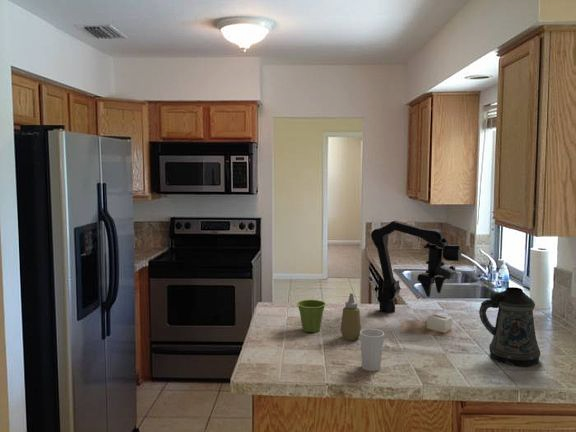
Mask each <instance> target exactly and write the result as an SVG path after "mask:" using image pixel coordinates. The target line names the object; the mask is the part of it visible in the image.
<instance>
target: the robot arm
mask: <svg viewBox="0 0 576 432" xmlns="http://www.w3.org/2000/svg"><path fill="white" fill-rule="evenodd" d="M395 231H397V232H400V233H403V234H407V235H411V236H414V237H418V238H420V239H422V240H424V241H425V242H427V243H426V244H425V245H424V246H423V249H427V250H428V254H427V257H428V258H427V260H426V261H425V264H427V270H425V272H422V273H420V274H418V275H417V281H418V283H420V285H421V287H422V289H423V290H424V292H425V295H426V298H427V297H428V298H429V297H431V291H432V286H433V285H434V284H435V287H436V288H435V289H436V292H437V293H438V294H441V291H442V289H443V285H444V283H445V281H446V280H450V279H453V278H454V275H456V274H457V270H456V266H454V265H451V266H446V265H445V261H450V262H458V263H459V262H461V259H462V249H461V245H459V244H454V245H452V244H449V242H448V241H447V239H446V238H445V234H444V232H443V231H442V230H441V229H437V228H425V227H424V228H423V227H419V226H415V225H412V224H409V223H405V222H402V221H399V220H393V221H391V222H390V223H388V224H386V225H384V226H382V227H379V228H375V229H373V230H372V231H371V235H370V237H371V240H372V243H373V245H374V246H375V248H376V250H377V253H378V258H379V259H378V260H379V263H380V269H381V272H382V273H381V274H382V279H383V280H382V281H383V282H382V293H381V294H380V295H379V296H378V297H377V301H378V302H379V312H381V313H385V314H389V313H395V312H396V303H395V300H396V297H398V296H399V294H400V292H401V290H402V289H401V286H400V280H396V279H395V277H394V273H393V268H392V263H391V259H390V252H389V248H388V245H389V235H390V234H392V233H393V232H395ZM443 259H444V260H445V261H443Z"/></svg>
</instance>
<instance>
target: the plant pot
mask: <svg viewBox="0 0 576 432" xmlns="http://www.w3.org/2000/svg"><path fill="white" fill-rule="evenodd" d="M296 305H297V307H298V311H299V315H300V321H301V327H302V330H303V331H304V332H305V333H317V332H319V331H320V330H321V326H322V320H323V315H324V311H325V306H326V305H327V303H326V302H325V301H323V300H318V299H304V300H303V299H302V300H298V301H297V303H296Z"/></svg>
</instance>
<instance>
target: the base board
mask: <svg viewBox="0 0 576 432" xmlns="http://www.w3.org/2000/svg"><path fill="white" fill-rule="evenodd" d="M400 327H401V328H400V333H404V334H418V335H429V336H441V337H453V338H454V332H453V329H452V330H450V331H448V332H446V333H443V332H439V331H435V330H431V329H428V328H427V321H419V320H407V319H406V320H404V319H401V325H400Z"/></svg>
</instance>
